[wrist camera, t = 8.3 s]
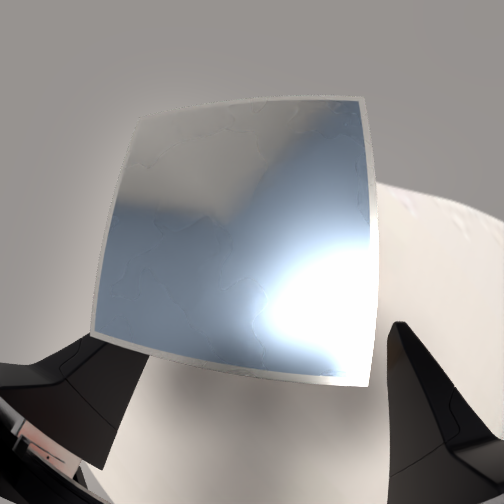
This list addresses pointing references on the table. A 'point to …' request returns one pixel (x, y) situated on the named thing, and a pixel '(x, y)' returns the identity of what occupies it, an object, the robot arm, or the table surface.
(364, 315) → the tea tin
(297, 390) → the table surface
